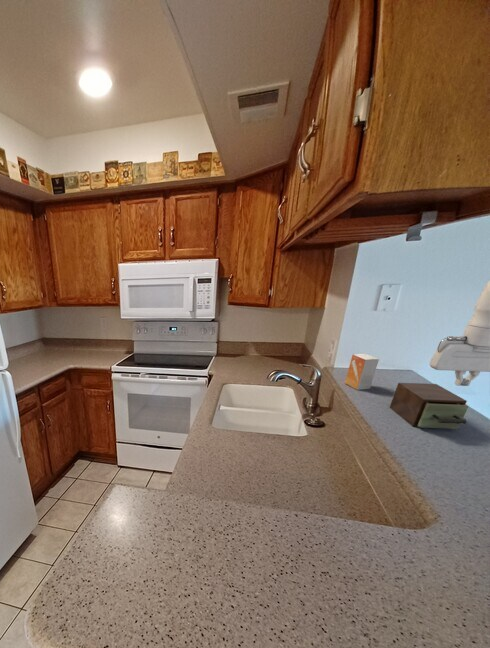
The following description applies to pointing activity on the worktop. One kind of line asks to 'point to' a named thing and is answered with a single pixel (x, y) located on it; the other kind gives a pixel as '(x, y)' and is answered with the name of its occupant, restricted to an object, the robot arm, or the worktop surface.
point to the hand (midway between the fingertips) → (461, 385)
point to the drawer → (442, 415)
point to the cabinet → (419, 399)
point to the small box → (361, 371)
